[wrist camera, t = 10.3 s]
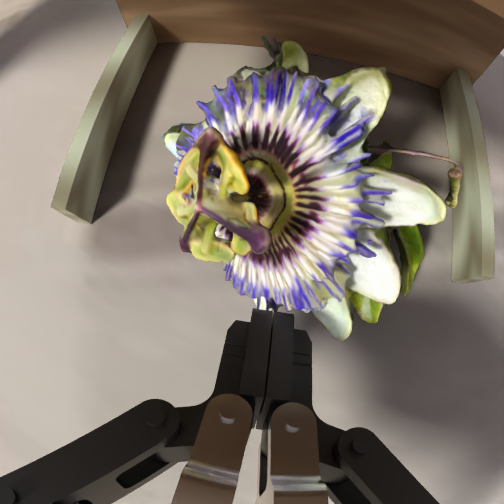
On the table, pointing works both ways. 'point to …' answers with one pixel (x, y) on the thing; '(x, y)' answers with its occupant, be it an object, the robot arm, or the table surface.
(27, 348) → the table surface
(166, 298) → the table surface
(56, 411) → the table surface
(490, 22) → the shelf
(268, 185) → the passion flower
